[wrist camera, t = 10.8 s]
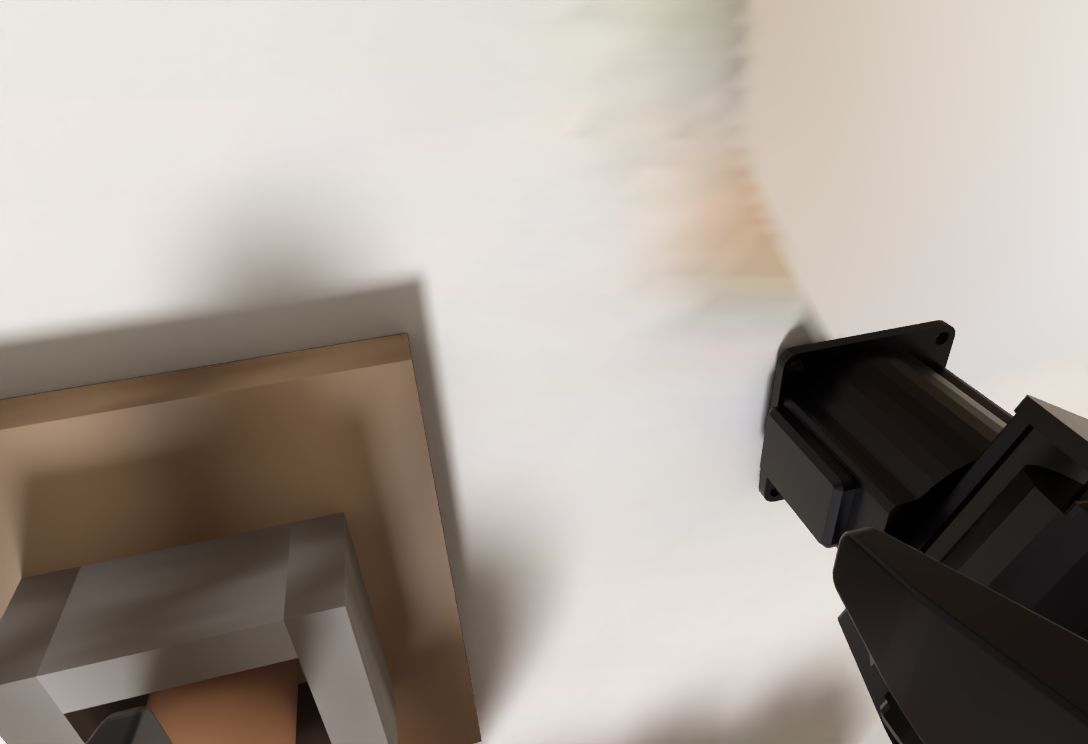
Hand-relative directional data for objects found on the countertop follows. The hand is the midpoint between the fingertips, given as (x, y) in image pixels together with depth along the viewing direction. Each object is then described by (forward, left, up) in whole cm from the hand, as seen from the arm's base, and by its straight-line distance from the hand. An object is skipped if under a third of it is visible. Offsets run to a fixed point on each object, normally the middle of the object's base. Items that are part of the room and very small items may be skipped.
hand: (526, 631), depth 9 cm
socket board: (+8, +11, -12) cm, 18 cm away
